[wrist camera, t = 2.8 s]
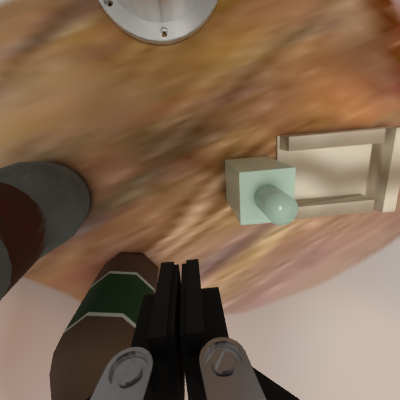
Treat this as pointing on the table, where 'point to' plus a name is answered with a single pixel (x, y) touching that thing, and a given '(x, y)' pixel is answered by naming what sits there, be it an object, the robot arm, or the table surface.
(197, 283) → the robot arm
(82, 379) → the beer bottle
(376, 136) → the cradle
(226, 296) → the table surface
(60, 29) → the table surface
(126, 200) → the table surface
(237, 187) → the bottle
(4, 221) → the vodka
